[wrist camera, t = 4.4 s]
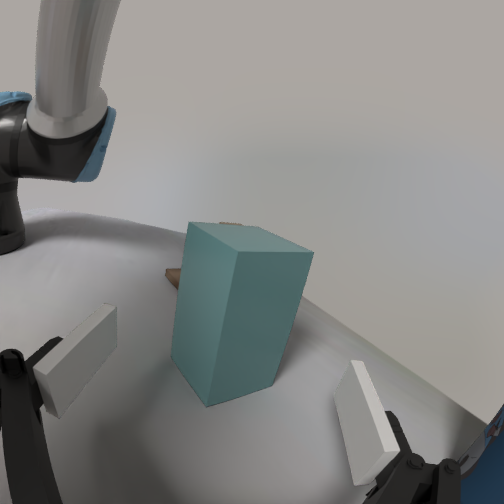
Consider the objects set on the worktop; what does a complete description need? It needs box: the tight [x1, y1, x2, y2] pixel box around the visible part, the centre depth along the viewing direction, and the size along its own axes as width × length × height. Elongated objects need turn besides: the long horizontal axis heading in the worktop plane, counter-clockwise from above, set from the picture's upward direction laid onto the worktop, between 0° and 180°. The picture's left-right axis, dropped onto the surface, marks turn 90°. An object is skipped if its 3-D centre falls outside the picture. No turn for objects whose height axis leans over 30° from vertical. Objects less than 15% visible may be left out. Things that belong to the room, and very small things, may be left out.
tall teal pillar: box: [171, 222, 314, 407], centre depth 21 cm, size 6×6×12 cm
